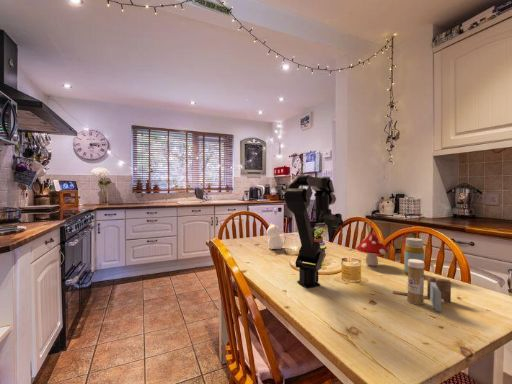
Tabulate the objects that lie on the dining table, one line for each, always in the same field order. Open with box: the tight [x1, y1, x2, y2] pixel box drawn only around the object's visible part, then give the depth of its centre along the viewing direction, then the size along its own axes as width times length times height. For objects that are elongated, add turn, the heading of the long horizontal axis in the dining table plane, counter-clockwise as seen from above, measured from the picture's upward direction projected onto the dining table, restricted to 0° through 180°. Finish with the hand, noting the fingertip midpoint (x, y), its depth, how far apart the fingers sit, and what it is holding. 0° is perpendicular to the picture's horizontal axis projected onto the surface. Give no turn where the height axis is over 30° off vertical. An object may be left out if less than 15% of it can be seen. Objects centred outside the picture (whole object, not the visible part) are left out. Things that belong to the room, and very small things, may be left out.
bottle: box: [403, 237, 425, 276], centre depth 107 cm, size 7×7×15 cm
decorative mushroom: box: [355, 233, 389, 267], centre depth 119 cm, size 14×14×15 cm
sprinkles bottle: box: [407, 259, 426, 305], centre depth 81 cm, size 5×5×13 cm
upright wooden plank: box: [392, 276, 452, 303], centre depth 85 cm, size 16×2×7 cm, turn 65°
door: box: [429, 282, 445, 313], centre depth 78 cm, size 9×2×6 cm, turn 155°
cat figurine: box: [266, 222, 287, 250], centre depth 151 cm, size 9×12×15 cm
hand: (321, 243), depth 108 cm, fingers open, 9 cm apart
